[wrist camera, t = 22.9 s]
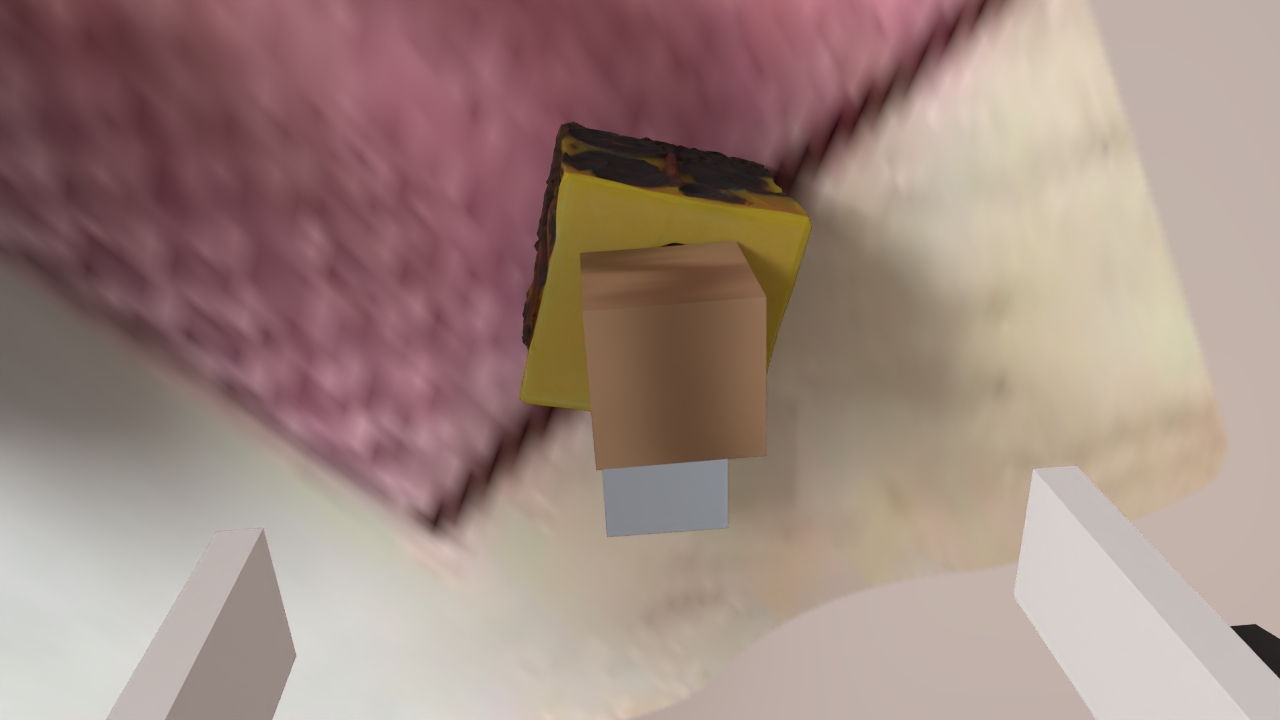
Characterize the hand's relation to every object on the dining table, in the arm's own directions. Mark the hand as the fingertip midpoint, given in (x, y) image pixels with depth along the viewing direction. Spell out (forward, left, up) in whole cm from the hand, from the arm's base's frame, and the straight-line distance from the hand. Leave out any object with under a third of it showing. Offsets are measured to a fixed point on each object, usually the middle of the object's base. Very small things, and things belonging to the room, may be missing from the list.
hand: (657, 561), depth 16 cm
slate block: (+2, -14, -31) cm, 34 cm away
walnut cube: (+2, -4, -21) cm, 21 cm away
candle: (+2, -4, -31) cm, 31 cm away
